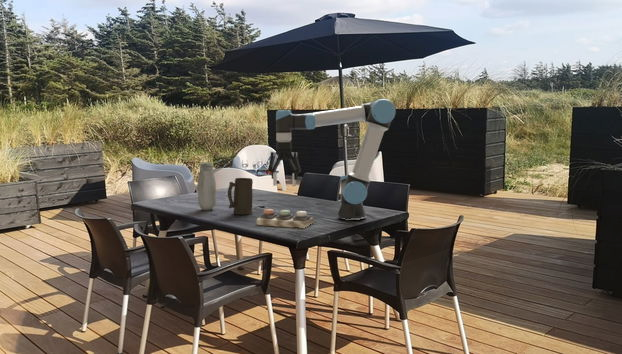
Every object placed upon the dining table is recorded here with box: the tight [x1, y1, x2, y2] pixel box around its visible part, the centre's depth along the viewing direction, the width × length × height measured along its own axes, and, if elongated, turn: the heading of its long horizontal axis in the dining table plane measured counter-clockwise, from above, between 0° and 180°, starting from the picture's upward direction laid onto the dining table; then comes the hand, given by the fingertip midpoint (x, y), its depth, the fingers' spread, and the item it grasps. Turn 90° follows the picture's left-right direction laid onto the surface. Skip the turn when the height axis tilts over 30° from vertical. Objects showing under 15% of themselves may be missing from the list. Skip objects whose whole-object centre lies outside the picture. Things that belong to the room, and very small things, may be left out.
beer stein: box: [227, 177, 254, 215], centre depth 287 cm, size 15×11×20 cm
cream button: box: [296, 210, 307, 217], centre depth 257 cm, size 5×5×2 cm
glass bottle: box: [197, 161, 217, 211], centre depth 300 cm, size 10×10×28 cm
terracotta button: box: [263, 208, 275, 215], centre depth 263 cm, size 5×5×2 cm
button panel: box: [256, 212, 314, 229], centre depth 260 cm, size 26×12×4 cm, turn 70°
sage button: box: [279, 209, 291, 216], centre depth 260 cm, size 5×5×2 cm
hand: (284, 185), depth 258 cm, fingers open, 10 cm apart
